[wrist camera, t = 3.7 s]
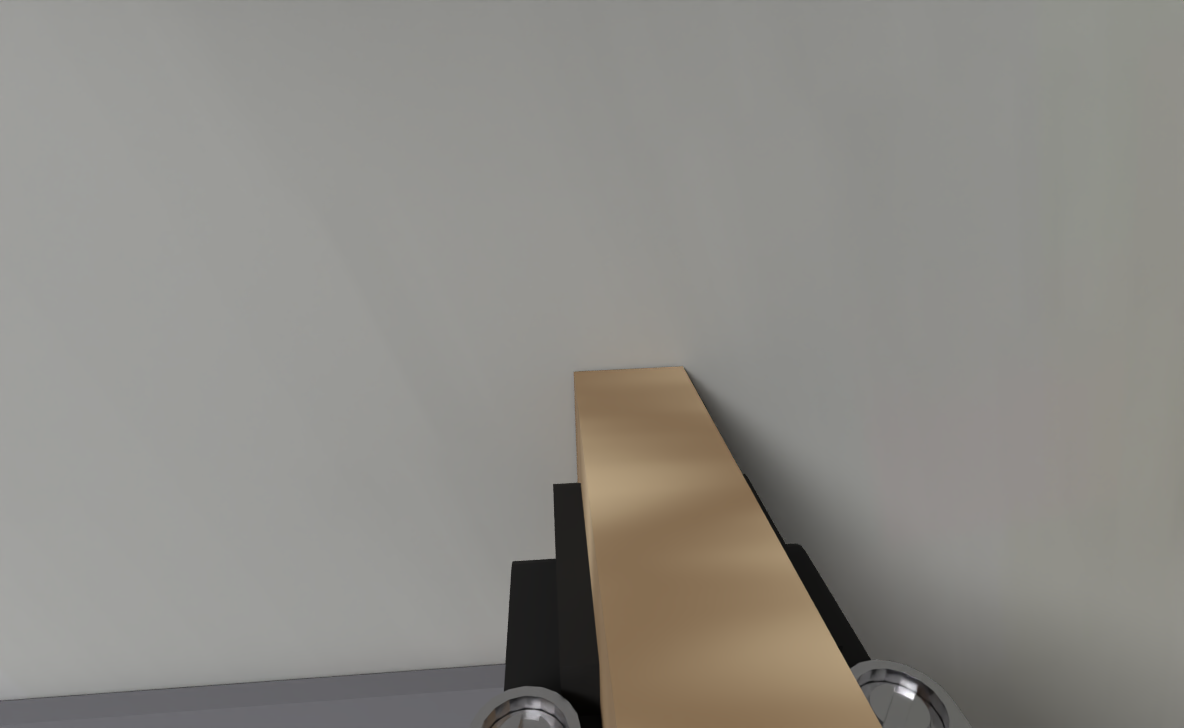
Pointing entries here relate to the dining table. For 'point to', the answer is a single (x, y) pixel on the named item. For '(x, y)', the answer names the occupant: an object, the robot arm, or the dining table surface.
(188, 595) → the dining table surface
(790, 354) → the dining table surface
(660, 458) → the wooden box
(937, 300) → the dining table surface
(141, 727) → the mat
